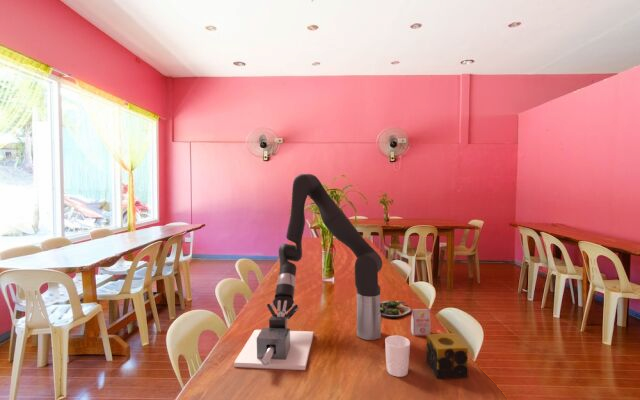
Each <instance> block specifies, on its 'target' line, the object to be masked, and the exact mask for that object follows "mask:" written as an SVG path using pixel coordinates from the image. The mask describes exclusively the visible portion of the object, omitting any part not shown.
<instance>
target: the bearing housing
mask: <svg viewBox="0 0 640 400" xmlns="http://www.w3.org/2000/svg"><path fill="white" fill-rule="evenodd" d="M260 330H261V332H260V333H259V335H258V337H257V359H263V357H264V355H265V353H266V351H267V349H268V347H269V345H276V348H275V350H274V353H273V355H272V357H271V359H280V360H286V358H287V355H288V352H289V350H290V331H291V329H290V328H287V329H286V328H269V327H262V329H260Z"/></svg>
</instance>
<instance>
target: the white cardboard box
mask: <svg viewBox="0 0 640 400" xmlns="http://www.w3.org/2000/svg"><path fill="white" fill-rule="evenodd" d="M431 321H432V320H431V313H430V309H429V308H421V309H420V308H415V309H414V308H413V309H411V316H410V333H411V334H412V336H414V337H415V336H416V337H417V336H420V337H421V336H425V337H426V335H427V334H431V326H432V325H431V323H432V322H431Z"/></svg>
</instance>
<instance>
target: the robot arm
mask: <svg viewBox="0 0 640 400" xmlns="http://www.w3.org/2000/svg"><path fill="white" fill-rule="evenodd" d="M291 193H292V194H291V209H290V216H289V222H288V227H287V231H286V239H287V240H288V241H290V242H292V243H294V244H290V243H289V244H288V243H283V244H280V246H279V248H278V257H279V271H278V278H277V281H276V288H275V292H274V299H272V302H271V303H267V304H266V307H267V309H268V310H269V312H270V314H271V315H272V316H274V317H287V320H290V319H291V317H293V316H294V314H296V312H297V311H298V310H299V306H298V304H296V303H295V301H294V295H295V288H296V276H297V275H296V273H297V265H296V264H295V263H294V262H296V263H297V262H299V261H301V259H302V257H303V247H302V243H303V242H302V241H303V235H304V231H305V227H306V226H305V225H306V218H305V206H306V205H305V204H306V201H307V198H310V199H311V200H312V202H313V203H314V204H315V205H316V207H317V209H318V212H319V214H320V218H321V220H322V223H323V224H324V226H325V227H326V228H327V230H328V231H329V232H330V234H331V235H332V236H333V237H334V238H335V239H337V241H340V242H341V243H342V244H344V245H345V246H347V247H348V248H349V249H350V251H351V252H352V253H353V254H354V255H355V257H356V260H355V263H354V285H355V287H356V336H357V337H358V338H360V339H363V340H366V341H374V340H377V339H382V332H381V331H382V325H381V324H382V317H381V314H380V303H381V286H380V285H379V275H378V273H379V272H380V271H381V270H382V267H383V259H382V258H381V256H380V255H379V253H378V252H377V251H376V250H375V249H374V248H373V247H372V246H371V245H370V244H369V243H368V242H367V241H366V240H365V238H364V237H363V236H362V235H361V234H360V232H359V230H358V229H357V228H356V227H355V226H354V225H353V222H351V221H350V219H349V218H348V216H347V215H346V214H345V213H344V212H343V210H341V208H340V207H339V206H338V205H337V203H336V202H335V200H333V199H332V198H331V197H332V196H330V195H329V194H328V192H327V190H326V188H325V187H324V186H323V184H322V183H321V181H320V179H319V178H318V177H317V176H316V175H314V174H311V173H300V174H298V175H297V176H295V178H294V180H293V182H292V191H291ZM274 308H275V310H276V313H275V311H274Z"/></svg>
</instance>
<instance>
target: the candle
mask: <svg viewBox="0 0 640 400" xmlns="http://www.w3.org/2000/svg"><path fill="white" fill-rule="evenodd" d="M425 337H426V340H425V341H426V351H425V353H426V354H425V357H426V361H425V362H426V364H427V365H428V367H429V368H430V370H431V372H432V373H433V374H434V377H435V379H437V380H438V379H440V380H441V379H445V380H446V379H447V380H448V379H449V380H450V379H467V378H468V377H469V374H468V372H469V367H468V364H469V363H468V360H469V358H468V357H469V356H468V351H469V346H467V345H466V344H465V343H464V342H463V341H462V340H461V339H460V337H459V336H458V335H457V333H455V332H450V333H449V332H448V333H430V334H427V335H426V336H425Z"/></svg>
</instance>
